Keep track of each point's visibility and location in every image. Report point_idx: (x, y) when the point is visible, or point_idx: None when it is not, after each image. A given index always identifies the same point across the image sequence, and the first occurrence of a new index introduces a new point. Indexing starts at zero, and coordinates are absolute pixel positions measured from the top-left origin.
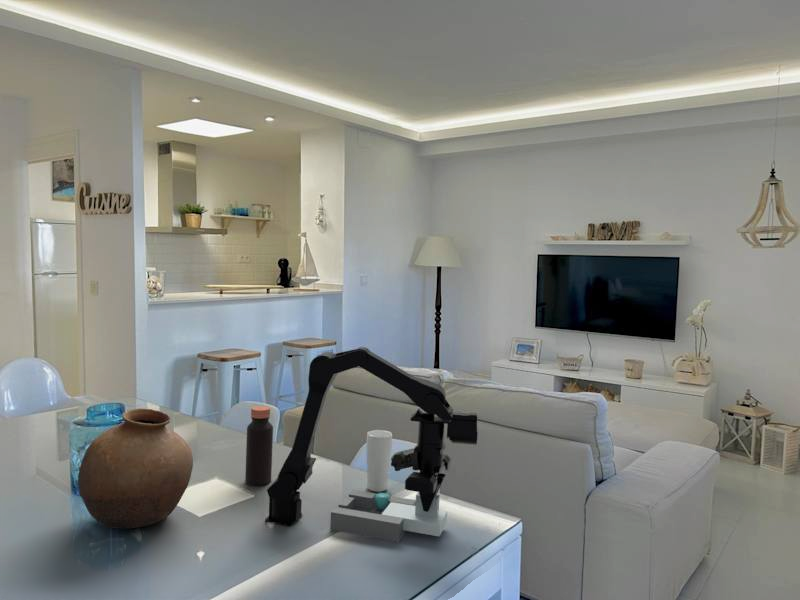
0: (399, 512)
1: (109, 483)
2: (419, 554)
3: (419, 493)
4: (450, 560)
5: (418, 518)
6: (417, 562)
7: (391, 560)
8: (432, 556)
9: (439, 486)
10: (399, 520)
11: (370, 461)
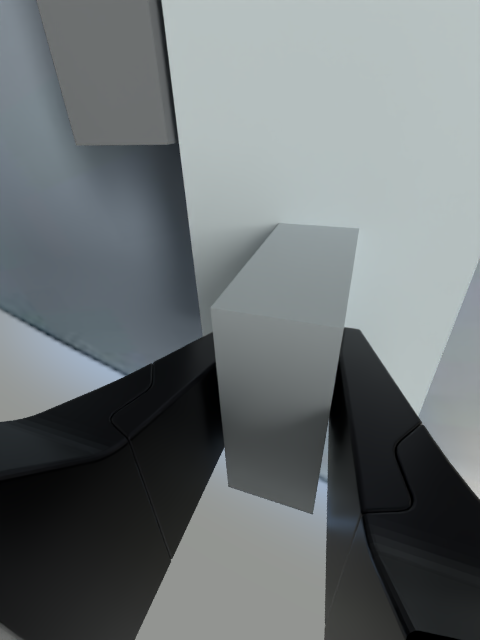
0: (279, 47)
1: None
2: (113, 261)
3: (90, 392)
4: (138, 359)
5: (228, 260)
6: (64, 262)
7: (9, 158)
8: (128, 307)
9: (325, 625)
10: (119, 123)
11: None
